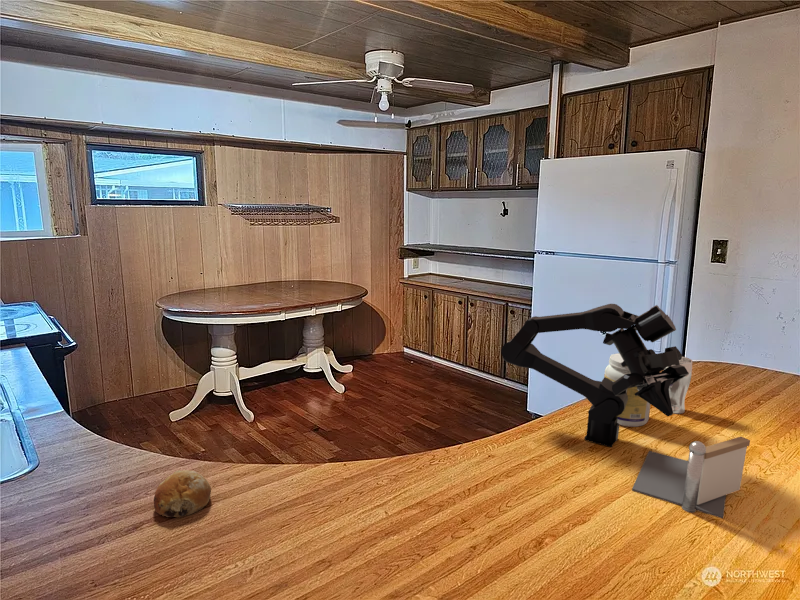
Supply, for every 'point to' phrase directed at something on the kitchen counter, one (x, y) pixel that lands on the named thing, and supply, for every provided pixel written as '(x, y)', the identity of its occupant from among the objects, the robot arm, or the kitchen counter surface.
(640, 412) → the supplement tub
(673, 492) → the mat
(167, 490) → the bread roll
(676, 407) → the beer glass
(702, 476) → the panel
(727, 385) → the kitchen counter surface
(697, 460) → the gate post
